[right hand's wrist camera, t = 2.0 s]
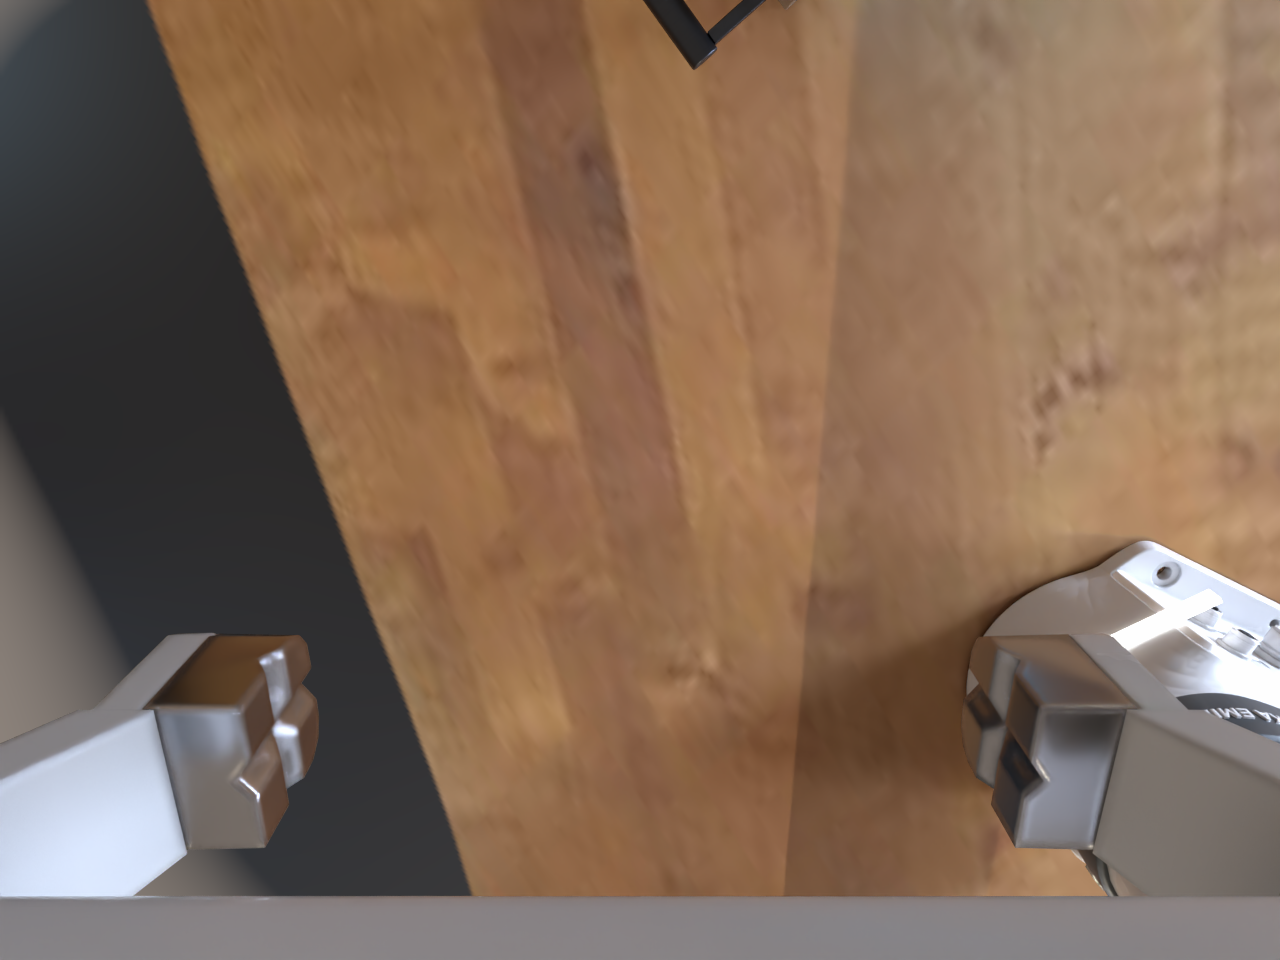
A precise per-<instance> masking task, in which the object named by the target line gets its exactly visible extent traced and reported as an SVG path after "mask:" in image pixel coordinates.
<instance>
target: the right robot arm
mask: <svg viewBox="0 0 1280 960" xmlns="http://www.w3.org/2000/svg"><path fill="white" fill-rule="evenodd" d="M1162 567H1165V568H1164V570H1163V571H1162V572H1161V573H1160V574H1157V571H1158V570H1159V569H1160V568H1162ZM310 669H311V664H310V659H309V654H308V649H307V644H306V642H305V641H304V640H303V639H302V638H301V637H300V636H299V635H256V634H214V633H193V634H175V635H169V636H167V637H166V638H165V639H164V640H163V641H162V642H161V643H160V644H159V645H158V646H157V647H156V648H155V649H154V650H153V651H152V652H151V653H149V654H148V655H147V656H146V657H145V658H144V659H143V660H142V661H141V662H140V663H139V664H138V665H137V666H136V667H135V668H134V669H133V670H132V671H131V672H130V673H129V674H128V675H127V676H126V677H125V678H124V679H123V680H122V681H121V682H120V683H119V684H118V685H117V686H116V687H115V688H114V689H113V690H112V691H111V692H109V693H108V694H107V695H106V696H105V697H104V698H103V699H102V700H101V701H100V702H99V703H98V704H97V705H96V706H95V707H94V708H93V709H92V710H76V711H74V712H72V713H70V714H67V715H65V716H63V717H60V718H58V719H56V720H53V721H51V722H49V723H46V724H44V725H42V726H40V727H37V728H35V729H33V730H30V731H28V732H26V733H23V734H21V735H19V736H17V737H14V738H12V739H10V740H7V741H5V742H3V743H0V960H1280V604H1278V603H1276V602H1274V601H1272V600H1270V599H1268V598H1266V597H1264V596H1262V595H1260V594H1258V593H1256V592H1254V591H1252V590H1250V589H1248V588H1246V587H1244V586H1242V585H1240V584H1238V583H1236V582H1234V581H1232V580H1230V579H1227V578H1225V577H1223V576H1221V575H1219V574H1217V573H1215V572H1213V571H1211V570H1209V569H1207V568H1205V567H1203V566H1201V565H1199V564H1197V563H1195V562H1193V561H1191V560H1189V559H1187V558H1185V557H1183V556H1181V555H1179V554H1177V553H1175V552H1173V551H1171V550H1169V549H1167V548H1165V547H1163V546H1161V545H1159V544H1157V543H1154V542H1152V541H1139V542H1136V543H1134V544H1131V545H1129V546H1127V547H1126V548H1124V549H1122V550H1121V551H1119V552H1118V553H1116V554H1115V555H1113V556H1112V557H1110V558H1109V559H1108V560H1106V561H1105V562H1103V563H1102V564H1101V565H1099V566H1098V567H1095V568H1093V569H1091V570H1088V571H1085V572H1082V573H1078V574H1075V575H1071V576H1068V577H1064V578H1061V579H1058V580H1055V581H1053V582H1050V583H1048V584H1045V585H1043V586H1041V587H1039V588H1037V589H1035V590H1034V591H1032V592H1030V593H1028V594H1027V595H1025V596H1024V597H1022V598H1021V599H1019V600H1018V601H1016V602H1015V603H1014V604H1012V605H1011V606H1010V607H1009V608H1008V609H1006V610H1005V611H1004V612H1003V613H1002V614H1001V615H1000V616H999V617H998V618H997V619H996V620H995V621H994V623H993V624H992V625H991V626H990V628H989V629H988V630H987V632H986V633H985V634H984V636H983V637H977V639H976V641H975V644H974V646H973V648H972V652H971V657H970V663H969V671H968V676H967V686H966V690H967V696H966V697H965V698H964V701H963V710H962V718H961V729H962V740H963V747H964V750H965V754H966V757H967V760H968V763H969V765H970V767H971V769H972V770H973V772H974V774H975V776H976V778H978V779H979V780H981V781H982V782H984V783H985V784H987V785H989V786H990V787H992V788H993V789H994V791H993V796H992V802H991V805H992V807H993V809H994V811H995V812H996V814H997V816H998V818H999V819H1000V821H1001V823H1002V825H1003V827H1004V828H1005V830H1006V832H1007V834H1008V835H1009V837H1010V839H1011V841H1012V843H1013V844H1014V846H1015V848H1047V849H1071V851H1072V852H1073V853H1074V854H1075V855H1076V856H1077V857H1078V858H1079V859H1080V860H1081V861H1083V862H1085V863H1086V866H1085V867H1086V868H1087V870H1088V871H1089V873H1090V874H1091V876H1092V877H1093V879H1094V880H1095V881H1096V883H1097V884H1098V885H1099V886H1100V887H1101V888H1102V890H1104V891H1105V892H1106V894H1107V895H1108V896H133V895H134V894H136V893H137V892H138V891H140V890H141V889H142V888H143V887H145V886H146V885H147V884H149V883H150V882H151V881H152V880H154V879H155V878H156V877H158V876H159V875H160V874H161V873H163V872H164V871H165V870H167V869H168V868H169V867H171V866H172V865H173V864H174V863H176V862H177V861H178V860H180V859H181V858H182V857H183V856H185V855H186V854H187V850H195V849H231V848H265V846H266V845H267V843H268V841H269V839H270V837H271V836H272V834H273V832H274V830H275V828H276V827H277V825H278V823H279V821H280V820H281V818H282V816H283V814H284V812H285V810H286V809H287V807H288V805H289V802H288V796H287V791H286V789H287V788H288V787H290V786H291V785H293V784H295V783H296V782H298V781H299V780H301V779H302V778H304V776H305V774H306V772H307V770H308V768H309V766H310V765H311V763H312V761H313V757H314V753H315V749H316V744H317V740H318V730H319V715H318V708H317V701H316V698H315V697H314V696H313V695H312V694H311V693H310V692H309V691H308V690H307V689H306V688H305V687H304V686H303V685H302V684H301V682H302V681H303V679H304V678H305V676H306V675H307V673H308V672H309V670H310Z"/></svg>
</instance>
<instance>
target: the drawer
mask: <svg viewBox="0 0 1280 960" xmlns="http://www.w3.org/2000/svg"><path fill="white" fill-rule="evenodd" d="M643 1H644V2H645V4H646V5H647V6H648V8H649V9H650V11H651V12H652V13H653V15H654V16H655V18H656V19H657V20H658V22H659V23H660V24H661V26H662V27H663V29H664V30H665V31H666V33H667V34H668V36H669V37H670V38H671V40H672V41H673V43H674V44H675V45H676V47H677V48H678V50H679V51H680V52H681V54H682V55H683V56H684V58H685V59H686V61H687V62H688V63H689V65H690V66H691V68H692V69H693V70H695V69H696V68H698V67H699V66H700V65H701V64H703V63H704V62H705V61H706V60H707V59H708V58H709V57H710V56H711V55H712V54H713V53H714V52H715V51H716V50H717V47H716V46H715V45H716V44H717V43H718V42H720V41H721V40H722V39H723V38H724V37H725V36H726V35H727V34H729V33H730V32H731V31H732V30H733V29H734V28H735V27H736V26H738V25H739V24H740V23H741V22H742V21H743V20H744V19H745V18H747V17H748V16H749V15H750V14H751V13H752V12H753V11H754V10H756V9H757V8H758V7H759V6H760V5H761V4H762V3H763V2H765V1H766V0H743V1H741V2H740V3H739V4H738V5H737V6H736V7H735V8H734V9H733V10H731V11H730V12H729V13H728V14H727V15H726V16H725V17H724V18H722V19H721V20H720V21H719V22H718V23H717V24H716V25H715V26H714V27H712V28H711V29H710V30H709V31H708V33H706V31H705V30H704V29H703V27H702V26H701V24H700V23H699V21H698V20H697V19H696V17H695V16H694V14H693V13H692V11H691V10H690V9H689V7H688V6H687V4H686V3H685V2H684V0H643ZM796 1H797V0H779V2H780V3H781V5H782V6H783V8H784V9H785V10H786V9H788V8H789V7H790V6H791V5H792V4H793V3H794V2H796Z"/></svg>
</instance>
